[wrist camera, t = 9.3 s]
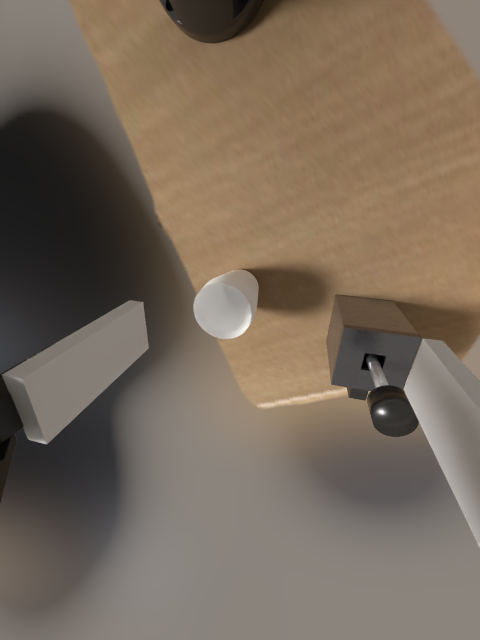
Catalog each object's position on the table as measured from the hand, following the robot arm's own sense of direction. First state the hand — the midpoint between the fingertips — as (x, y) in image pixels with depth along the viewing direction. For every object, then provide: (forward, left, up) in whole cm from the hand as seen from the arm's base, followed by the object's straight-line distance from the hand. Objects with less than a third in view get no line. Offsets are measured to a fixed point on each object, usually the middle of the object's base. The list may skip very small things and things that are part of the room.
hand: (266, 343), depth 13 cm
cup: (+9, -9, -35) cm, 37 cm away
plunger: (+13, +12, -32) cm, 36 cm away
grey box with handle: (+15, +12, -35) cm, 40 cm away
